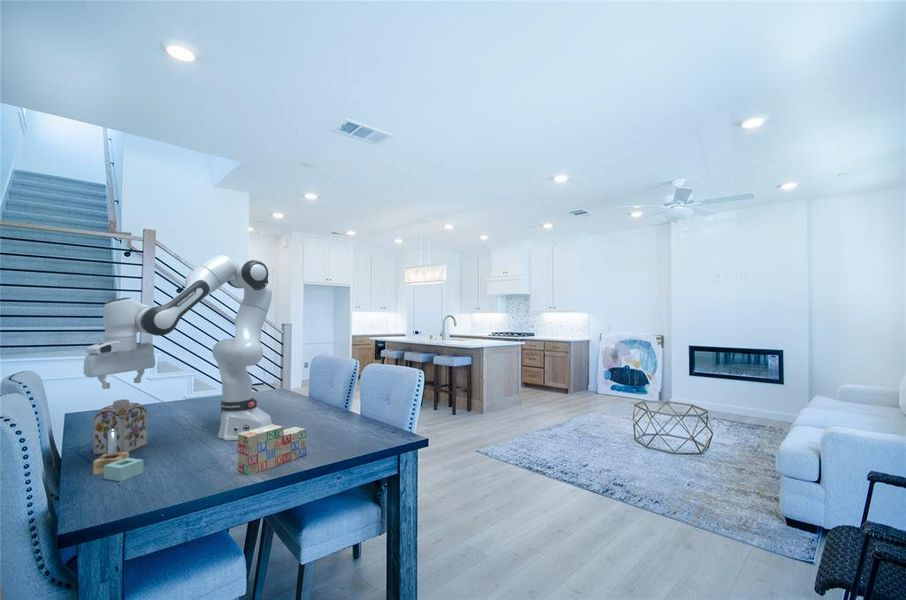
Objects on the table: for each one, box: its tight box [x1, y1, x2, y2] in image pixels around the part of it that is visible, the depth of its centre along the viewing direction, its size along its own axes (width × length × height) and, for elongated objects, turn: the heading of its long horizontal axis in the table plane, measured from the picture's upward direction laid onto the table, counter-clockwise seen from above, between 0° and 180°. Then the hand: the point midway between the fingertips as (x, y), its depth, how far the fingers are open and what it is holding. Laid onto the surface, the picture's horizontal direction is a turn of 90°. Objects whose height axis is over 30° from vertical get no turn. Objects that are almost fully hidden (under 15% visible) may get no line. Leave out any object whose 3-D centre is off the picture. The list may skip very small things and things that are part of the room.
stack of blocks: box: [237, 423, 307, 476], centre depth 143 cm, size 21×6×12 cm, turn 146°
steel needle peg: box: [108, 428, 116, 458], centre depth 139 cm, size 2×2×13 cm
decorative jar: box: [92, 399, 148, 455], centre depth 158 cm, size 12×12×18 cm
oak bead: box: [92, 452, 130, 475], centre depth 139 cm, size 7×7×4 cm
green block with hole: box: [103, 457, 144, 482], centre depth 133 cm, size 7×7×4 cm
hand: (122, 385), depth 146 cm, fingers open, 8 cm apart
